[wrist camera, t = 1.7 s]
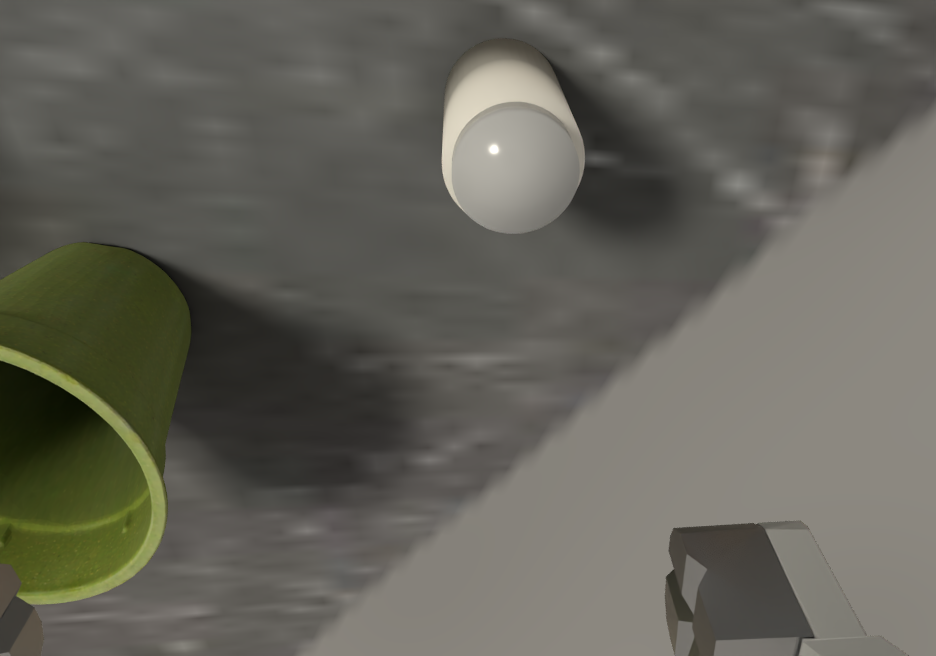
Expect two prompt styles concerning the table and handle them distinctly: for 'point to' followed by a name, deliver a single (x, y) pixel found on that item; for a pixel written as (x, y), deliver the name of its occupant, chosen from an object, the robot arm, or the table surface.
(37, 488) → the plant pot
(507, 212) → the salt shaker
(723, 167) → the table surface
